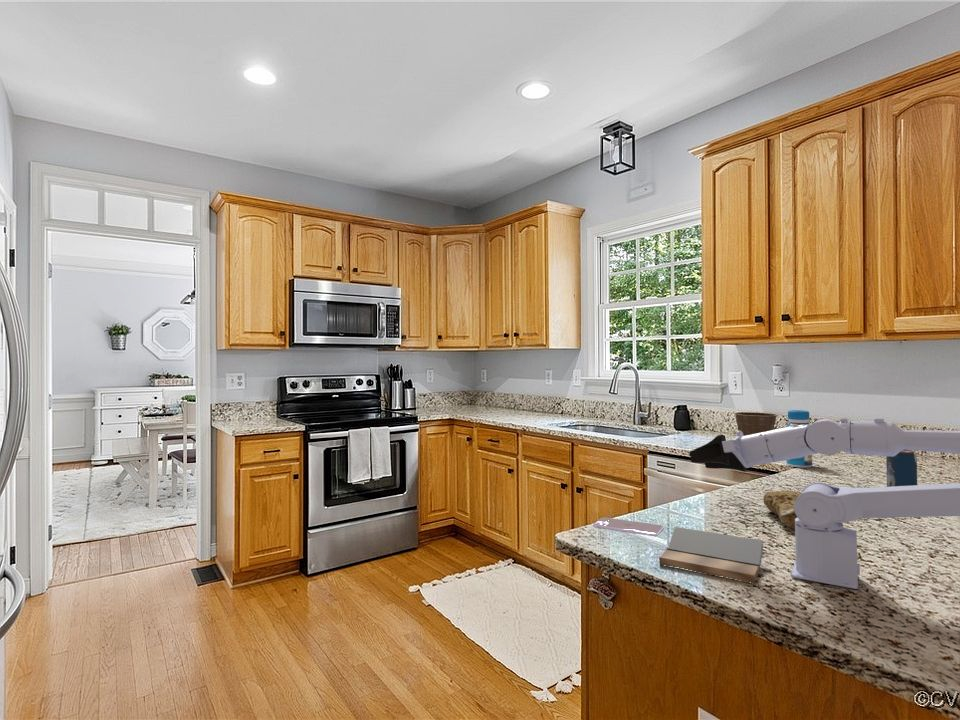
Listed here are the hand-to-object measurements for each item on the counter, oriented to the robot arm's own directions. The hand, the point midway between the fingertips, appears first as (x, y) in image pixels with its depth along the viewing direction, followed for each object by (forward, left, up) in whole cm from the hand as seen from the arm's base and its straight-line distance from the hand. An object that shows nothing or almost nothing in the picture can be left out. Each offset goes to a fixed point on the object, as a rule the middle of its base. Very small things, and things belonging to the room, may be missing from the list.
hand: (698, 460), depth 108 cm
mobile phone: (+18, -9, -19) cm, 27 cm away
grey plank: (-3, +2, -17) cm, 17 cm away
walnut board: (-3, +9, -18) cm, 21 cm away
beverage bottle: (-10, -114, -19) cm, 115 cm away
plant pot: (+8, -141, -19) cm, 142 cm away
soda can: (-37, -83, -19) cm, 93 cm away
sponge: (-14, -35, -19) cm, 42 cm away
